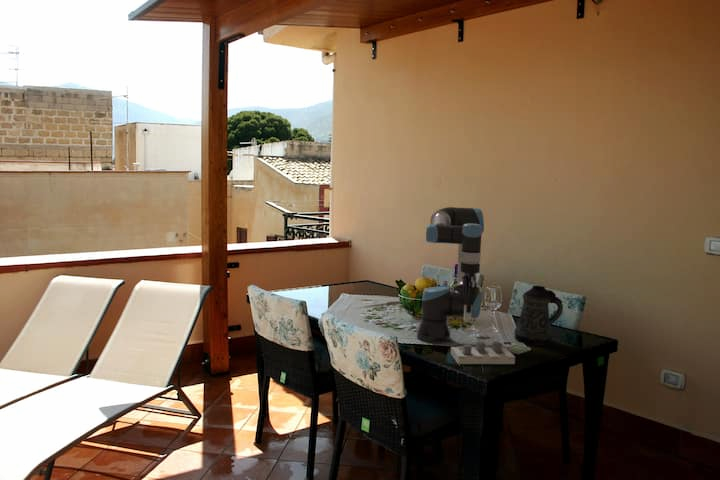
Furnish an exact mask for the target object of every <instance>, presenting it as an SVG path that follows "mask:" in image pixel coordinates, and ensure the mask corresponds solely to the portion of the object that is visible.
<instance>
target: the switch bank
mask: <svg viewBox="0 0 720 480" xmlns="http://www.w3.org/2000/svg"><path fill="white" fill-rule="evenodd" d="M471 347H472V348H471V355H466V356H464V354H463V353H462V352H463V346H450V356H451V357H452V358H453V359H454V361H455V362H456V363H457V365H515V363H516V356H515V354H514V353H512V352H509V351H508V350H507V349H506V348H505V347H502V350H501V351H502V353H496V352H495V351H494V350H493V346H485V353H479V352H478V351H477V350H476V346H471Z"/></svg>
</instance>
